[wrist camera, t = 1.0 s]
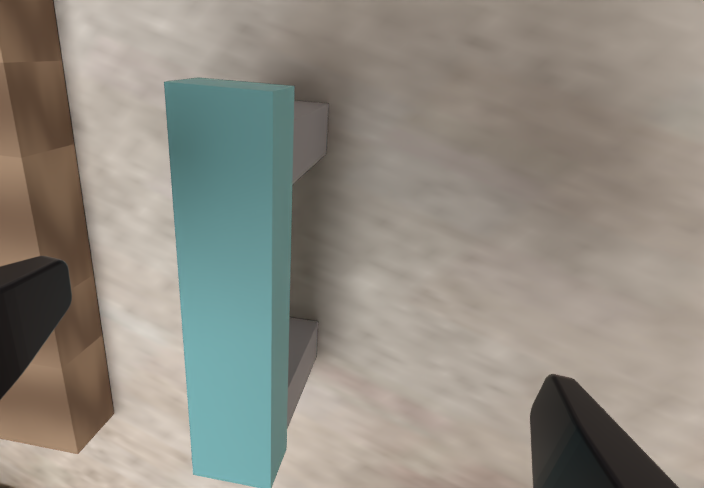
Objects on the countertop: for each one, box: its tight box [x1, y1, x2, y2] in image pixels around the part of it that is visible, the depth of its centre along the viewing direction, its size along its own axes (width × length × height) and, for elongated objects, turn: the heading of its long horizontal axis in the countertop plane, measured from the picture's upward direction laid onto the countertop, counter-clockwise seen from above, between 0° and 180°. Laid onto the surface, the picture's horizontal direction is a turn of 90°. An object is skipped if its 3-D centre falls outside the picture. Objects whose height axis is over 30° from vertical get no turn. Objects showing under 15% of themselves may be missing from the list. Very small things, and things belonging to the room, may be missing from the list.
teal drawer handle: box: [164, 78, 329, 488], centre depth 19 cm, size 14×3×7 cm, turn 176°
